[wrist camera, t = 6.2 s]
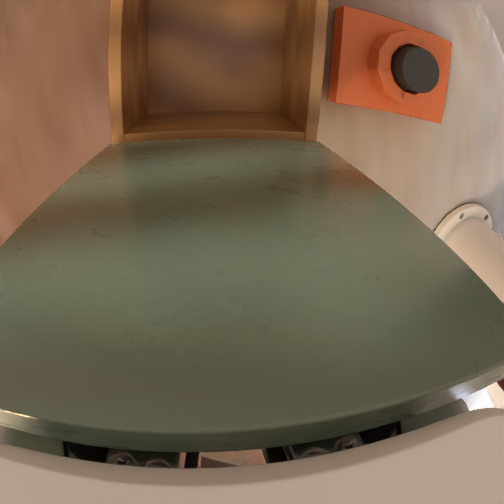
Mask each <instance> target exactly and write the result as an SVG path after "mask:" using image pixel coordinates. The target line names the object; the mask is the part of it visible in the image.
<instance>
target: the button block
mask: <svg viewBox="0 0 504 504" xmlns="http://www.w3.org/2000/svg"><path fill="white" fill-rule="evenodd" d="M451 46H452V43H451V42H449V41H447V40H445V39H443V38H440V37H438V36H436V35H433V34H431V33H428V32H426V31H423V30H421V29H418V28H416V27H413V26H410V25H407V24H405V23H402V22H399V21H396V20H393V19H390V18H387V17H383V16H380V15H377V14H373V13H370V12H366V11H362V10H359V9H355V8H351V7H347V6H342V7H339V8H337V9H335V20H334V35H333V48H332V60H331V71H330V82H329V92H328V100H329V101H332V102H335V103H341V104H348V105H354V106H361V107H367V108H372V109H378V110H383V111H388V112H393V113H398V114H403V115H407V116H412V117H416V118H420V119H425V120H429V121H433V122H436V123H440V124H441V122H442V117H443V111H444V105H445V98H446V92H447V84H448V76H449V68H450V58H451ZM403 47H419V48H424V49H426V50H428V51H429V52H430V53H431V54H432V55H433V56H434V57H435V59H436V61H437V63H438V66H439V80H438V83H437V85H436V86H435V88H434V89H433V90H431V91H430V92H427V93H418V92H415V91H411V90H407V89H405V88H403V87H401V86H400V85H399V84H398V83H397V81H396V80H395V78H394V76H393V73H392V67H391V64H392V59H393V56H394V54H395V53H396V52H397V51H398V50H399V49H401V48H403Z"/></svg>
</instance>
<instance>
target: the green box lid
mask: <svg viewBox="0 0 504 504" xmlns="http://www.w3.org/2000/svg"><path fill="white" fill-rule="evenodd" d="M503 378H504V303H503V302H502V301H501V300H500V299H499V298H498V297H497V296H496V294H495V293H494V292H493V291H492V290H491V289H490V288H489V287H488V286H487V285H486V284H485V282H484V281H483V280H482V279H481V278H480V277H479V276H478V275H477V274H476V273H475V272H474V271H473V270H472V269H471V268H470V267H469V266H468V265H467V264H466V263H465V262H464V261H463V260H462V259H461V258H460V257H459V256H458V255H457V254H456V253H455V252H454V251H453V250H452V249H451V248H450V247H449V246H448V245H447V244H446V243H445V242H444V241H442V240H441V239H440V238H439V237H438V236H437V235H436V234H435V233H434V232H433V231H432V230H431V229H429V228H428V227H427V226H426V225H425V224H424V223H423V222H422V221H420V220H419V219H418V218H417V217H416V216H415V215H414V214H412V213H411V212H410V211H409V210H408V209H407V208H405V207H404V206H403V205H402V204H401V203H399V202H398V201H397V200H396V199H395V198H393V197H392V196H391V195H390V194H388V193H387V192H386V191H385V190H383V189H382V188H381V187H380V186H378V185H377V184H376V183H375V182H373V181H372V180H371V179H369V178H368V177H367V176H366V175H364V174H363V173H362V172H360V171H359V170H358V169H356V168H355V167H354V166H352V165H351V164H349V163H348V162H347V161H345V160H344V159H343V158H341V157H340V156H338V155H337V154H336V153H334V152H333V151H331V150H330V149H329V148H327V147H326V146H324V145H323V144H321V143H320V142H317V141H302V140H284V139H256V138H200V139H172V140H154V141H139V142H127V143H116V144H110V145H109V146H107V147H106V148H105V149H104V150H102V151H101V152H100V153H99V154H97V155H96V156H95V157H94V158H92V159H91V160H90V161H89V162H88V163H86V164H85V165H84V166H83V167H82V168H80V169H79V170H78V171H77V172H76V173H75V174H73V175H72V176H71V177H70V178H69V179H68V180H67V181H65V182H64V183H63V184H62V185H61V186H60V187H59V188H58V189H57V190H56V191H54V192H53V193H52V194H51V195H50V196H49V197H48V198H47V199H46V200H45V201H44V202H43V203H42V204H41V205H40V206H39V207H38V208H37V209H36V210H35V211H34V212H33V213H32V214H31V215H30V216H29V217H28V218H27V219H26V220H25V221H24V222H23V223H22V224H21V225H20V226H19V227H18V228H17V229H16V231H15V232H14V233H13V234H12V235H11V236H10V237H9V238H8V239H7V240H6V242H5V243H4V244H3V245H2V246H1V247H0V425H3V426H6V427H9V428H13V429H16V430H20V431H23V432H27V433H31V434H35V435H39V436H44V437H48V438H53V439H58V440H63V441H68V442H74V443H79V444H86V445H92V446H99V447H107V448H116V449H126V450H138V451H155V452H223V451H239V450H252V449H262V448H271V447H280V446H287V445H294V444H301V443H307V442H313V441H318V440H324V439H329V438H334V437H338V436H343V435H348V434H352V433H356V432H360V431H364V430H368V429H372V428H376V427H379V426H383V425H386V424H390V423H393V422H397V421H400V420H403V419H406V418H409V417H412V416H415V415H418V414H421V413H424V412H427V411H430V410H432V409H435V408H438V407H440V406H443V405H446V404H448V403H451V402H453V401H455V400H458V399H460V398H463V397H465V396H467V395H470V394H472V393H474V392H476V391H478V390H481V389H483V388H485V387H487V386H489V385H491V384H493V383H495V382H497V381H499V380H501V379H503Z"/></svg>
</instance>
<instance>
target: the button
mask: <svg viewBox="0 0 504 504" xmlns="http://www.w3.org/2000/svg"><path fill="white" fill-rule="evenodd" d="M391 67H392V73H393V76H394V78H395V80H396V81H397V83H398V84H399V85H400V86H401V87H403V88H405V89H407V90H411V91H415V92H418V93H427V92H430V91H431V90H433V89H434V88H435V86H436V85H437V83H438V80H439V66H438V63H437V61H436V59H435V57H434V56H433V55H432V54H431V53H430V52H429V51H428V50H426V49H424V48H419V47H403V48H401V49H399V50H398V51H397V52H396V53H395V54H394V56H393V59H392V64H391Z"/></svg>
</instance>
